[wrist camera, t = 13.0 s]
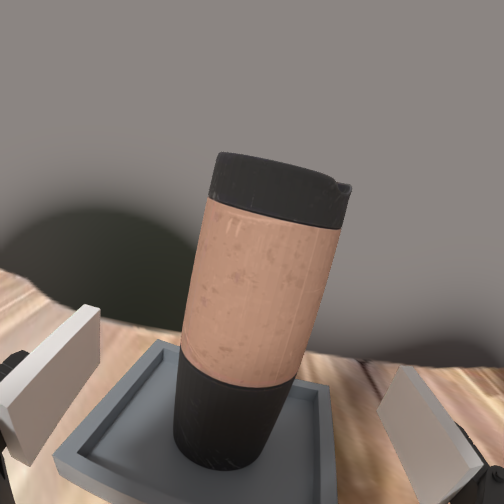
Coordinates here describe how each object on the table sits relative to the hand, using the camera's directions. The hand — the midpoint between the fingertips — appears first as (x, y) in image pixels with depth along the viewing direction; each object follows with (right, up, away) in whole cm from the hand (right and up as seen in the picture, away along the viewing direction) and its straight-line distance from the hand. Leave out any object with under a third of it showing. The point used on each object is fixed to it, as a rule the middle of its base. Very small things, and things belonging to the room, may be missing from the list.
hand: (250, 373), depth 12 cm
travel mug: (-3, -10, +9) cm, 14 cm away
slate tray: (-3, -10, +9) cm, 14 cm away
